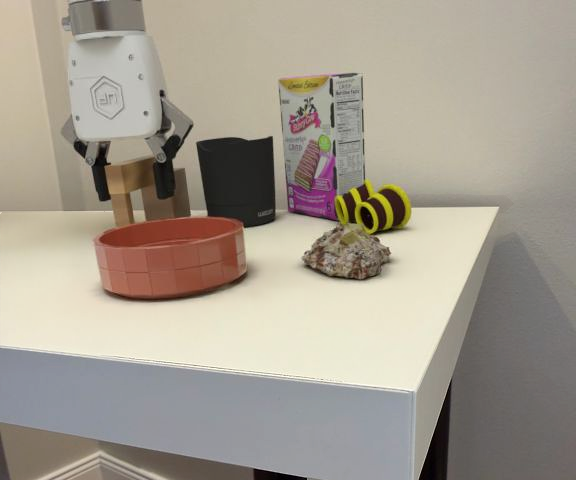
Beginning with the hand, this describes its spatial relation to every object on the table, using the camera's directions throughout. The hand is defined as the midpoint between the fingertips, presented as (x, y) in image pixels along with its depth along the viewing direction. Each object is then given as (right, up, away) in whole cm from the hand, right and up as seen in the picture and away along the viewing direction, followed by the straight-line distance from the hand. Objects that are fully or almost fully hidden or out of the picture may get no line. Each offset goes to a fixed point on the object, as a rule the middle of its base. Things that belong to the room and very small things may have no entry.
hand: (136, 197), depth 76 cm
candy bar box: (+22, 0, +9) cm, 24 cm away
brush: (+1, -3, +4) cm, 6 cm away
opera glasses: (+27, -4, -1) cm, 27 cm away
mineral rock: (+23, -11, -16) cm, 30 cm away
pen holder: (+12, -1, +8) cm, 14 cm away
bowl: (+7, -12, -16) cm, 21 cm away
